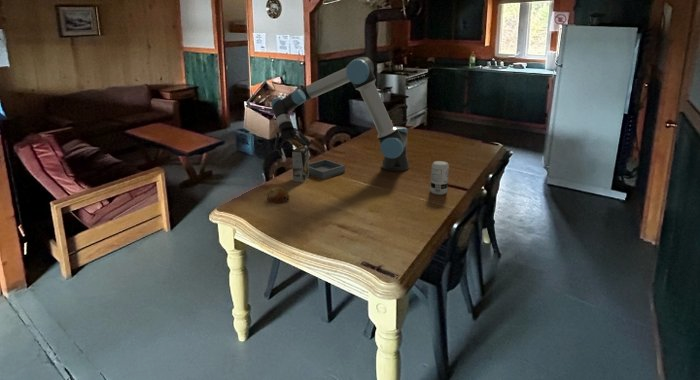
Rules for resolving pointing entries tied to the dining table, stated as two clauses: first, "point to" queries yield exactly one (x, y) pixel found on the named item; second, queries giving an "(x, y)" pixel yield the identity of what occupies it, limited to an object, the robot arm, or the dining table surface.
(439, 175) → the supplement can
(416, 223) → the dining table surface
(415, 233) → the dining table surface
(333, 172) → the tray
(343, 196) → the dining table surface
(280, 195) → the bread roll
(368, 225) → the dining table surface
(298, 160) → the coffee box
